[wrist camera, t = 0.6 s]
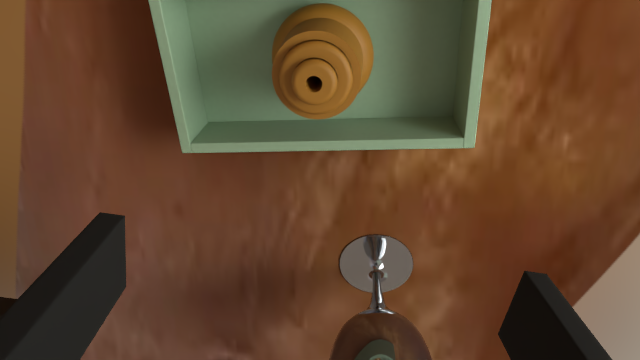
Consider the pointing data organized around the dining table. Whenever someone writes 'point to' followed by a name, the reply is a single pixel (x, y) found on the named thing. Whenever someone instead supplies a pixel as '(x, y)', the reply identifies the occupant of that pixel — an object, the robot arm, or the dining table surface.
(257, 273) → the dining table surface
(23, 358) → the robot arm
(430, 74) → the tote
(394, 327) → the metal goblet
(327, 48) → the ornamental finial
